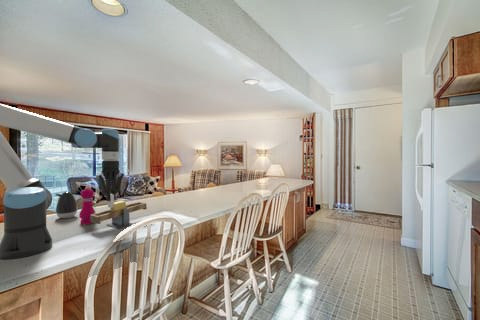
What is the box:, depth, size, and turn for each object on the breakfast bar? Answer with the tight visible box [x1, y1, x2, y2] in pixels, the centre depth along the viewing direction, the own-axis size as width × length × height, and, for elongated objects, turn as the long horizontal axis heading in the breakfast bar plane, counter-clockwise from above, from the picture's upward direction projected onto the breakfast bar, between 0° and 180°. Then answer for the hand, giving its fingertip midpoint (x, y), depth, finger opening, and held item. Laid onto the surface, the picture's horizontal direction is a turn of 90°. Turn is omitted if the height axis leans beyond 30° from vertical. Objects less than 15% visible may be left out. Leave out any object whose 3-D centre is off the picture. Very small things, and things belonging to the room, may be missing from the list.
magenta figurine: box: [78, 185, 96, 226], centre depth 120 cm, size 7×7×20 cm
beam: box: [90, 201, 147, 225], centre depth 117 cm, size 26×7×4 cm, turn 149°
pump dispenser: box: [55, 191, 78, 220], centre depth 131 cm, size 10×10×15 cm
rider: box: [109, 200, 127, 212], centre depth 116 cm, size 6×4×4 cm, turn 149°
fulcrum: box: [106, 209, 134, 230], centre depth 117 cm, size 8×12×9 cm, turn 59°
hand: (111, 207), depth 112 cm, fingers closed
